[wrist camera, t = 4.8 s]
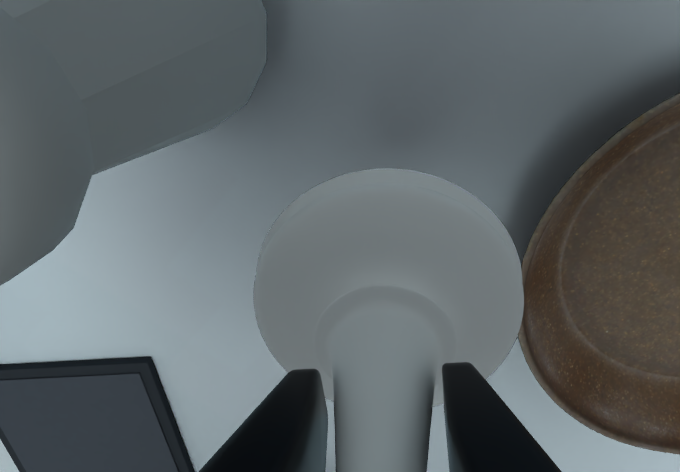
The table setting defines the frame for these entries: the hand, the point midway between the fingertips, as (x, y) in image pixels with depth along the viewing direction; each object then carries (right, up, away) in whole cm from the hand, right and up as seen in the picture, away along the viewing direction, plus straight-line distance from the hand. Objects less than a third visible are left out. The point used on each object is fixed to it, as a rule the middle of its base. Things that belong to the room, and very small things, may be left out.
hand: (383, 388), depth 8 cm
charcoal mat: (-13, -7, +19) cm, 24 cm away
